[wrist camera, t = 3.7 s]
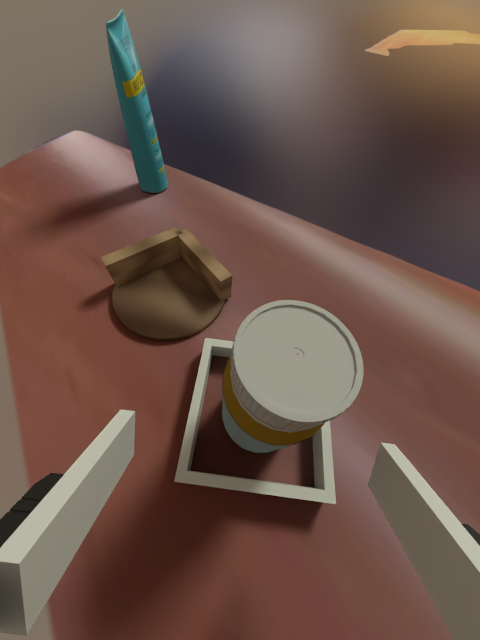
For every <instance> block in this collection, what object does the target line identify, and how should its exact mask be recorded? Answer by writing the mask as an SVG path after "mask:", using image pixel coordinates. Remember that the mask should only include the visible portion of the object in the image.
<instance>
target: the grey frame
mask: <svg viewBox="0 0 480 640" xmlns="http://www.w3.org/2000/svg"><path fill="white" fill-rule="evenodd" d="M233 343H234V342H232V341H225V340H218V339H210V338H205V342H204V347H203V352H202V356H201V361H200V365H199V370H198V374H197V379H196V384H195V388H194V393H193V397H192V402H191V406H190V411H189V416H188V420H187V425H186V429H185V434H184V438H183V443H182V448H181V452H180V457H179V461H178V466H177V471H176V475H175V480H174V482H180V483H187V484H195V485H202V486H209V487H216V488H223V489H231V490H238V491H245V492H252V493H259V494H266V495H274V496H281V497H288V498H295V499H302V500H310V501H317V502H324V503H331V504H336V498H335V484H334V471H333V458H332V444H331V431H330V421H328V422H325V424H324V425H323V426H322V427H321V428H320V429H319V430H318V431H317V432H316V433H315V434H314V435H313V436H312V437H313V463H314V488H313V487H306V486H298V485H291V484H284V483H277V482H270V481H262V480H255V479H248V478H241V477H234V476H226V475H219V474H212V473H205V472H198V471H190V469H191V464H192V459H193V454H194V448H195V443H196V438H197V433H198V428H199V422H200V417H201V412H202V407H203V402H204V397H205V391H206V386H207V381H208V376H209V371H210V365H211V360H212V355H214V356H221V357H229V358H230V356H231V355H232V346H233Z"/></svg>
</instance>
